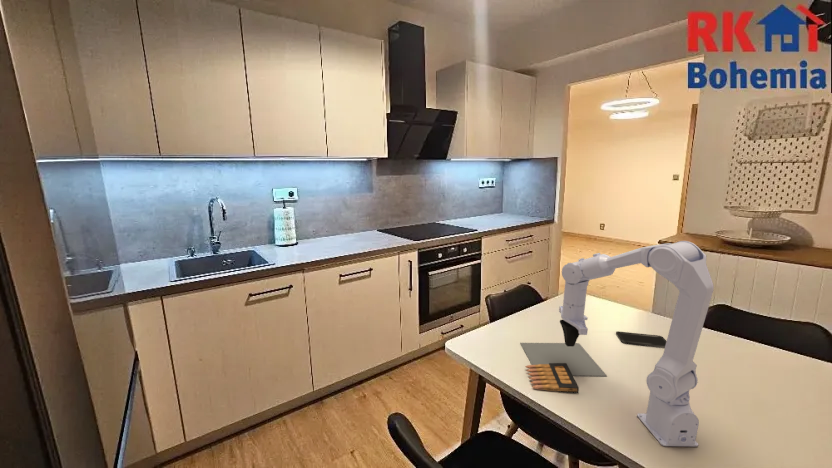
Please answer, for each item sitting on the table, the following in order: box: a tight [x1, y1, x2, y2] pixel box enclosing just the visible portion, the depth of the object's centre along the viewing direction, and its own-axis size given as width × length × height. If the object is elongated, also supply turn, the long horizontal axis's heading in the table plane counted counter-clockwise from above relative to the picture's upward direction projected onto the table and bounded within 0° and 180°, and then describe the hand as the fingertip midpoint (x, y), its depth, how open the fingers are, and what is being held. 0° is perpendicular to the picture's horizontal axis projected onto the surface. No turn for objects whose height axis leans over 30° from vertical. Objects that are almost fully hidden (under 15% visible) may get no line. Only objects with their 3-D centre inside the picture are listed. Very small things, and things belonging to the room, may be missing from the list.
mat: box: [520, 342, 608, 377], centre depth 109 cm, size 18×20×1 cm
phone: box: [615, 330, 667, 349], centre depth 119 cm, size 8×1×15 cm
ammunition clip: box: [525, 363, 580, 394], centre depth 98 cm, size 11×2×12 cm
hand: (569, 345), depth 102 cm, fingers closed
